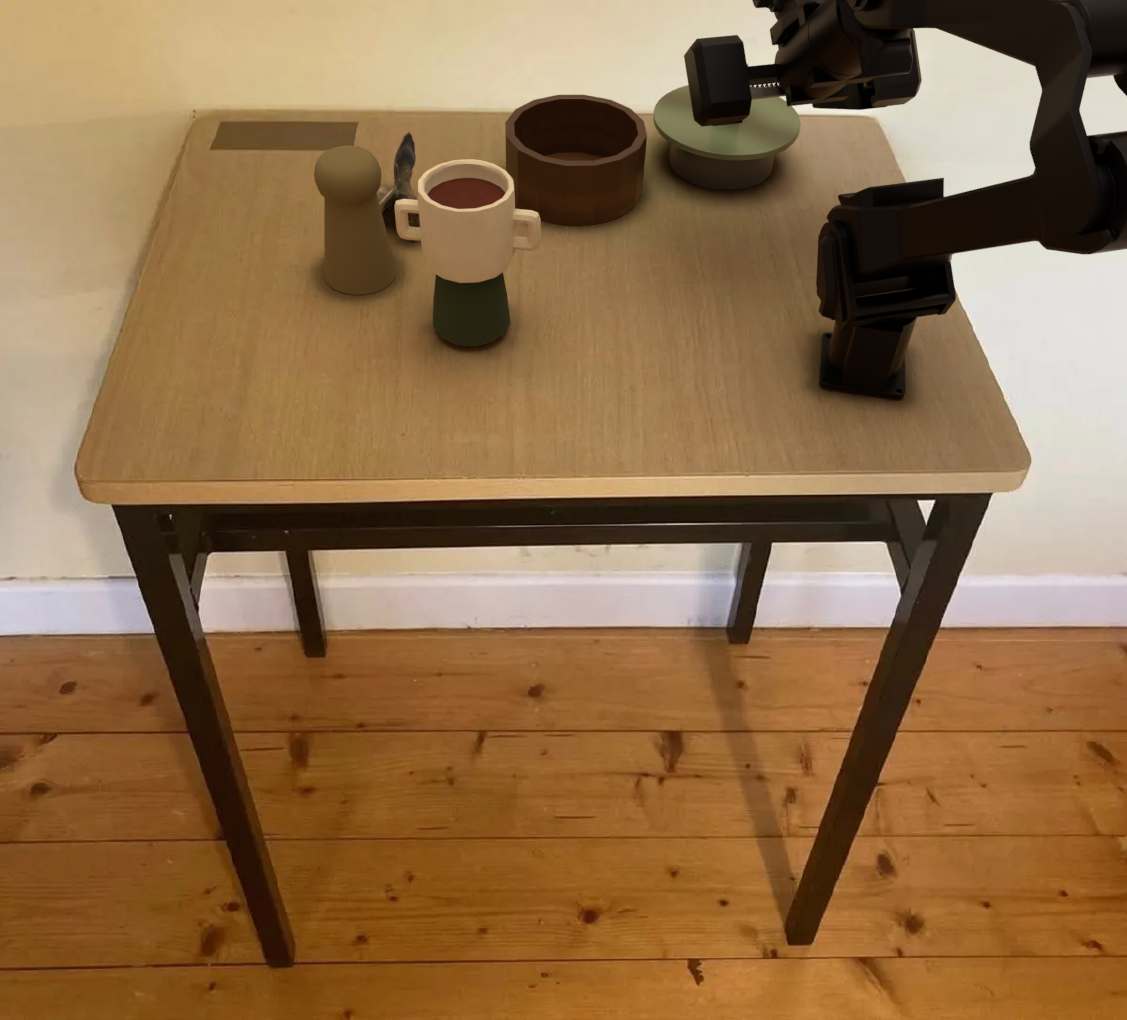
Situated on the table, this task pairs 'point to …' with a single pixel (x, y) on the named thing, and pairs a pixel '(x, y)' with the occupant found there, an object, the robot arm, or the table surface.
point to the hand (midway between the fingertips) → (764, 107)
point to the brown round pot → (575, 158)
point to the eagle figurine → (401, 180)
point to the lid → (728, 128)
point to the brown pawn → (353, 222)
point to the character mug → (468, 245)
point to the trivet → (719, 170)
